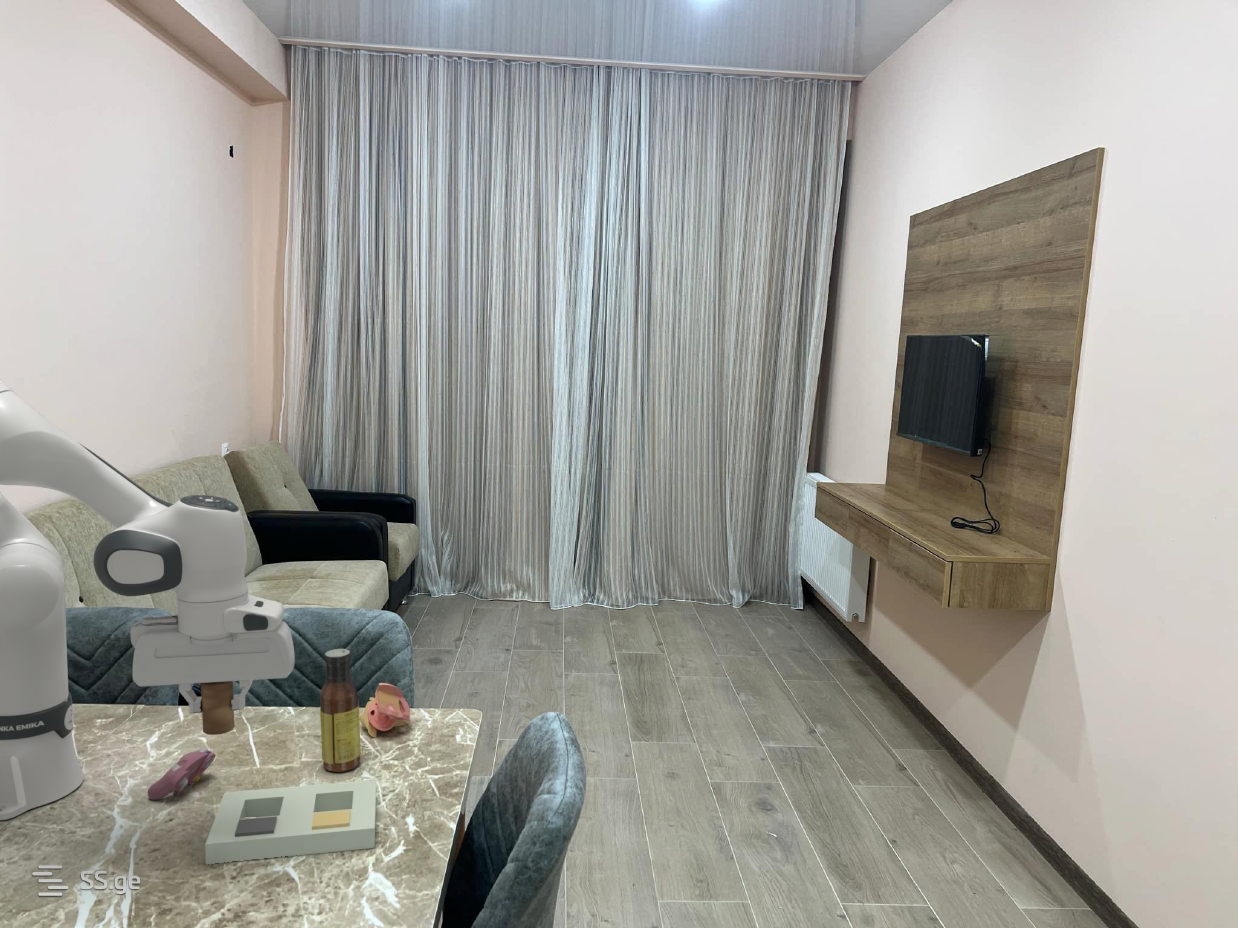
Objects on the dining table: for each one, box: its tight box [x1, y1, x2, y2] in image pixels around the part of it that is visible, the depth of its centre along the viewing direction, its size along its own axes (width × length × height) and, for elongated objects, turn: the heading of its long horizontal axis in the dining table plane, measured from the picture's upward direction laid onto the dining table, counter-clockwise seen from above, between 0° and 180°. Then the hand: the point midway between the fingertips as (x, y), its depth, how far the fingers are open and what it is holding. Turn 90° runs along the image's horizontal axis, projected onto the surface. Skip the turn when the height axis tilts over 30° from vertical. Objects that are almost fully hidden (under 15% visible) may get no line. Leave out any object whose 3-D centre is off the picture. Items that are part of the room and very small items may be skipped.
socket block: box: [204, 779, 377, 866], centre depth 126 cm, size 22×14×4 cm, turn 105°
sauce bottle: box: [319, 648, 362, 773], centre depth 145 cm, size 6×6×20 cm
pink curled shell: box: [359, 682, 411, 738], centre depth 160 cm, size 9×10×10 cm
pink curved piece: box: [147, 747, 216, 801], centre depth 136 cm, size 10×5×7 cm, turn 169°
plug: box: [200, 681, 235, 736], centre depth 120 cm, size 4×4×7 cm
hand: (217, 710), depth 120 cm, fingers closed on plug, 4 cm apart
